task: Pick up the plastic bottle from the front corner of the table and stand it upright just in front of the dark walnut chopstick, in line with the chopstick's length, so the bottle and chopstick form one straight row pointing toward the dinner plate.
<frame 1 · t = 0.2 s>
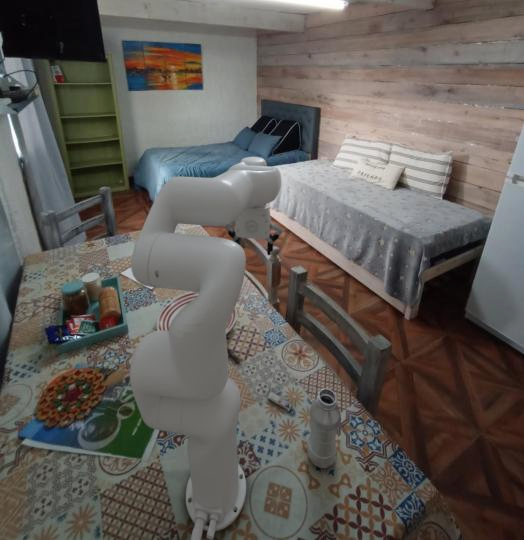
hand: (253, 251, 97), 31 cm above the table, tool pointing down, fingers open, 9 cm apart
walnut chopstick: (232, 356, 98), on the table
teacup and saucer: (154, 269, 140), on the table
plastic bottle: (320, 456, 73), on the table
granola bar: (279, 402, 85), on the table
dinner plate: (198, 322, 111), on the table
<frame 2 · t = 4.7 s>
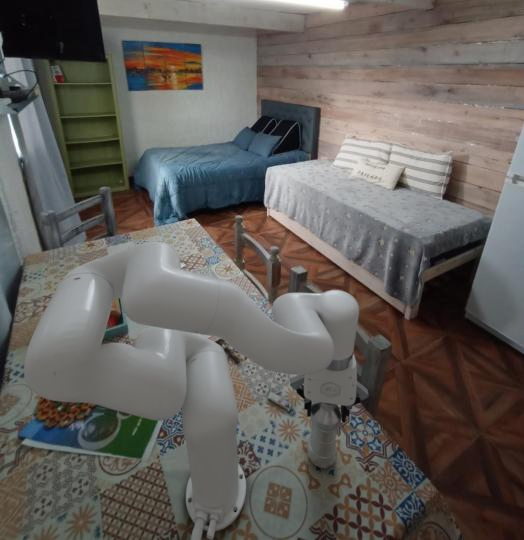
hand: (325, 412, 68), 15 cm above the table, tool pointing down, fingers closed on plastic bottle, 6 cm apart
plastic bottle: (320, 456, 73), on the table, touching gripper
everything else where it was.
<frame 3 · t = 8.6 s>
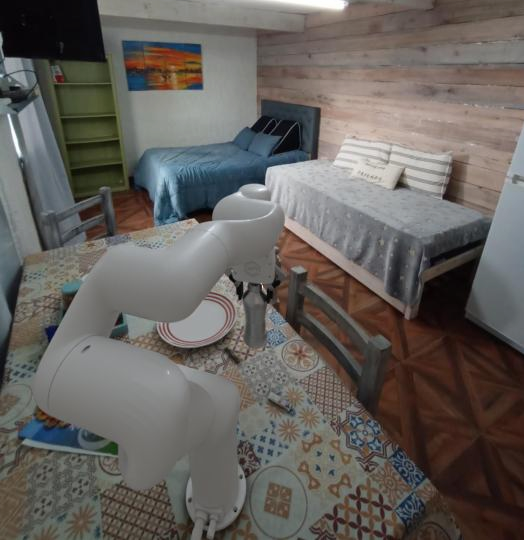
hand: (254, 297, 80), 29 cm above the table, tool pointing down, fingers closed on plastic bottle, 6 cm apart
plastic bottle: (255, 343, 86), point 14 cm above the table, touching gripper
everything else where it was.
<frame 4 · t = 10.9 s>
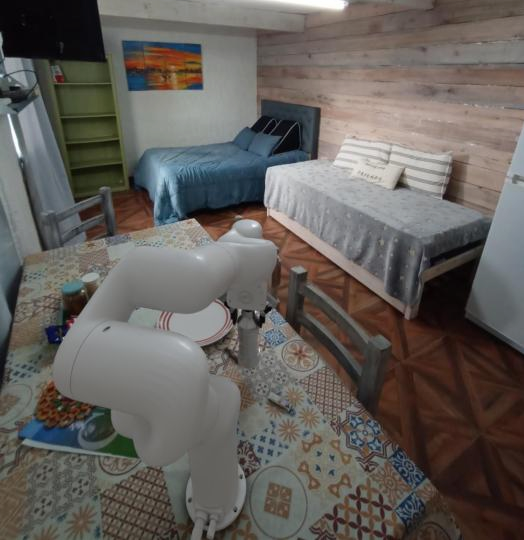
hand: (248, 322, 86), 19 cm above the table, tool pointing down, fingers closed on plastic bottle, 6 cm apart
plastic bottle: (248, 362, 91), point 4 cm above the table, touching gripper
everything else where it was.
when the fingers open (15 cm above the table, at t = 12.5 s): plastic bottle stays where it is, on the table.
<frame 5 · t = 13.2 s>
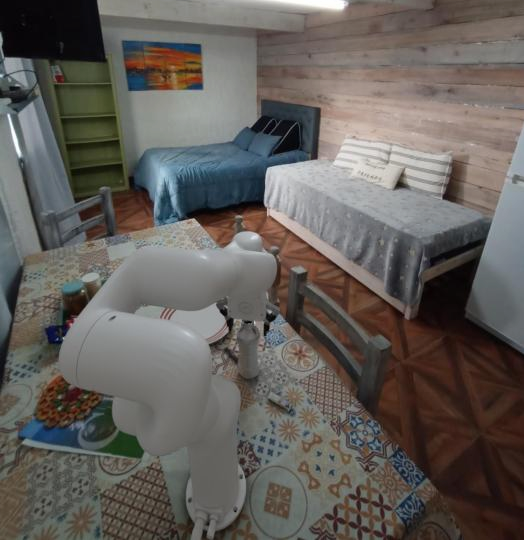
hand: (248, 330, 87), 16 cm above the table, tool pointing down, fingers open, 9 cm apart
plastic bottle: (249, 372, 93), on the table
everything else where it was.
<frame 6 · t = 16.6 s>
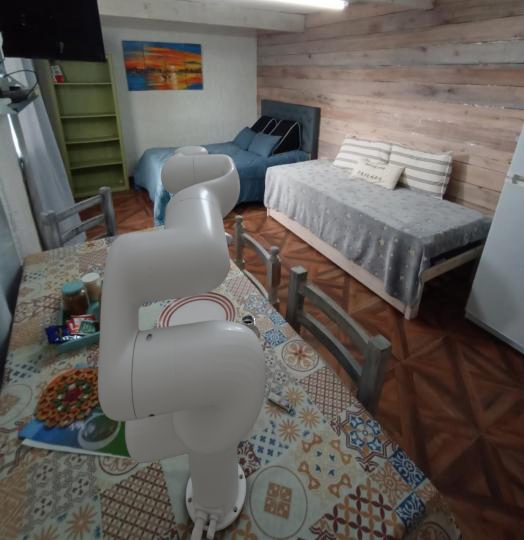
hand: (199, 264, 78), 38 cm above the table, tool pointing down, fingers open, 9 cm apart
nothing on the table moved.
at the end: plastic bottle 0.2 cm from the target spot on the table beside the walnut chopstick, on the table; plastic bottle tilted 0°; the gripper is holding nothing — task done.
